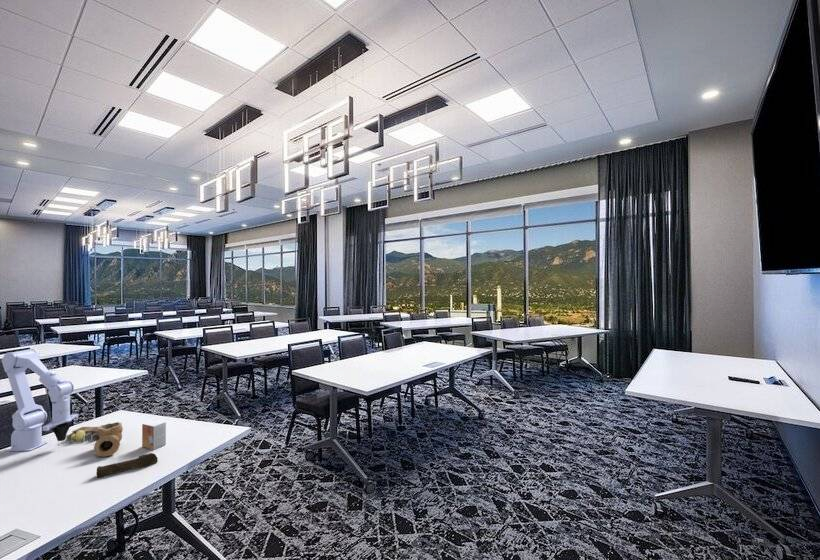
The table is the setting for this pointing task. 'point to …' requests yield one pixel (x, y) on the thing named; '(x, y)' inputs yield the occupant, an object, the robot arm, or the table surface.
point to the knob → (78, 436)
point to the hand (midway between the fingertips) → (61, 440)
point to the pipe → (108, 439)
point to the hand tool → (127, 464)
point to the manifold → (90, 434)
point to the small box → (153, 434)
